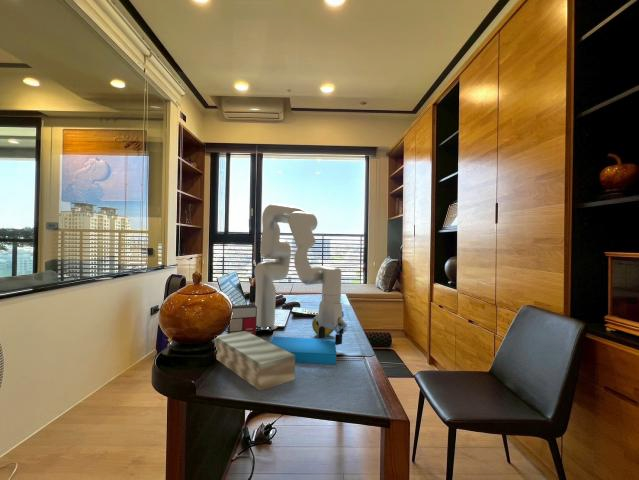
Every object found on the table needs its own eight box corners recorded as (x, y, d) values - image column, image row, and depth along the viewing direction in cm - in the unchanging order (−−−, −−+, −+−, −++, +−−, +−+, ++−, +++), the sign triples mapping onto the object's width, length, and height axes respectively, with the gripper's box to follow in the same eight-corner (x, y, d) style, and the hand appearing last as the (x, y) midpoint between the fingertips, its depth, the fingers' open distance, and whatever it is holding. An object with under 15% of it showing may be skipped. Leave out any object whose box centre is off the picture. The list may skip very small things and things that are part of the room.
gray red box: (228, 346, 124) (229, 308, 124) (226, 342, 128) (228, 305, 128) (256, 343, 129) (257, 306, 129) (253, 340, 133) (255, 304, 133)
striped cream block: (214, 357, 112) (214, 336, 112) (244, 350, 120) (245, 330, 120) (259, 390, 89) (260, 364, 89) (294, 379, 97) (295, 355, 97)
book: (272, 336, 127) (334, 338, 127) (272, 347, 127) (334, 349, 127) (264, 351, 110) (336, 353, 110) (264, 363, 110) (336, 365, 110)
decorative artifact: (312, 336, 141) (313, 313, 141) (311, 331, 148) (311, 310, 148) (334, 336, 142) (335, 314, 143) (332, 332, 149) (333, 310, 150)
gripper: (310, 296, 131) (308, 337, 131) (340, 302, 119) (338, 348, 118) (323, 294, 136) (322, 334, 136) (353, 300, 124) (352, 344, 123)
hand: (329, 341), depth 127 cm, fingers open, 9 cm apart
